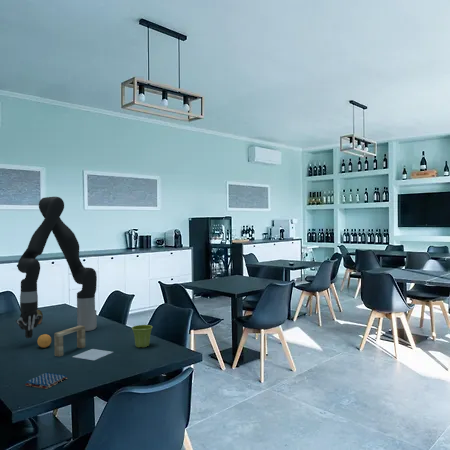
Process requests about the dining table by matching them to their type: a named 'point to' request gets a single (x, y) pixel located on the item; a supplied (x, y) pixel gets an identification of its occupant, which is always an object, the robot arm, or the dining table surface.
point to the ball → (44, 340)
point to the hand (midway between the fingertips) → (29, 337)
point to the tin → (40, 315)
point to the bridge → (59, 335)
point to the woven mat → (46, 380)
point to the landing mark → (92, 354)
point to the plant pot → (142, 335)
